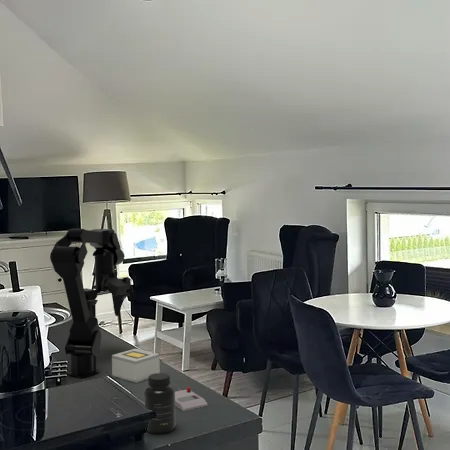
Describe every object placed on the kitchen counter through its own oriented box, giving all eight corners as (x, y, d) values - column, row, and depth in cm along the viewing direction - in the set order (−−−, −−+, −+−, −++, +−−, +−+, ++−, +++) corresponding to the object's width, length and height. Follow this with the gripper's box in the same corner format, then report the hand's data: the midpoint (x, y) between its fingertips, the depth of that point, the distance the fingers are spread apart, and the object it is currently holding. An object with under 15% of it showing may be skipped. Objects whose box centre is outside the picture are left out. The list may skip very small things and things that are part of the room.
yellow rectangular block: (138, 376, 174) (138, 357, 174) (126, 373, 177) (125, 354, 177) (146, 373, 176) (145, 354, 176) (133, 370, 179) (133, 352, 179)
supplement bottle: (141, 425, 140) (140, 373, 140) (170, 420, 143) (169, 369, 142) (149, 436, 134) (147, 382, 133) (179, 431, 136) (178, 378, 135)
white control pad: (187, 415, 147) (186, 403, 147) (159, 396, 161) (159, 384, 160) (211, 409, 150) (211, 397, 150) (182, 391, 164) (182, 380, 164)
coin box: (136, 382, 170) (135, 361, 170) (112, 375, 176) (111, 355, 176) (159, 374, 177) (159, 354, 176) (136, 368, 183) (135, 348, 183)
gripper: (96, 274, 181) (98, 327, 182) (144, 267, 195) (145, 316, 196) (73, 271, 188) (74, 322, 189) (120, 265, 202) (121, 312, 203)
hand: (105, 318), depth 194 cm, fingers open, 9 cm apart
